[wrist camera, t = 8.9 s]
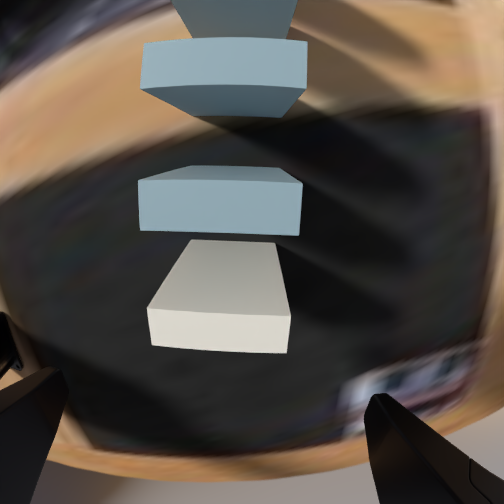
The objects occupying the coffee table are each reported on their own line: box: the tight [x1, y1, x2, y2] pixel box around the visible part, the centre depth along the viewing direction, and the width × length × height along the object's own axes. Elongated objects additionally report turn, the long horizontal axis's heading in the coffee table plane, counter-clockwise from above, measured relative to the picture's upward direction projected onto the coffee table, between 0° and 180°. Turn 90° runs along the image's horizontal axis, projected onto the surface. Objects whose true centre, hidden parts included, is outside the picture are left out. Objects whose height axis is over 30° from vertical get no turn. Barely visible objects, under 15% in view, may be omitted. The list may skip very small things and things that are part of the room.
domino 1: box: [171, 0, 298, 39], centre depth 10 cm, size 2×5×8 cm, turn 88°
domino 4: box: [147, 240, 291, 353], centre depth 15 cm, size 2×5×8 cm, turn 88°
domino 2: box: [140, 37, 307, 118], centre depth 12 cm, size 2×5×8 cm, turn 88°
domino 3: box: [138, 166, 303, 236], centre depth 13 cm, size 2×5×8 cm, turn 88°
